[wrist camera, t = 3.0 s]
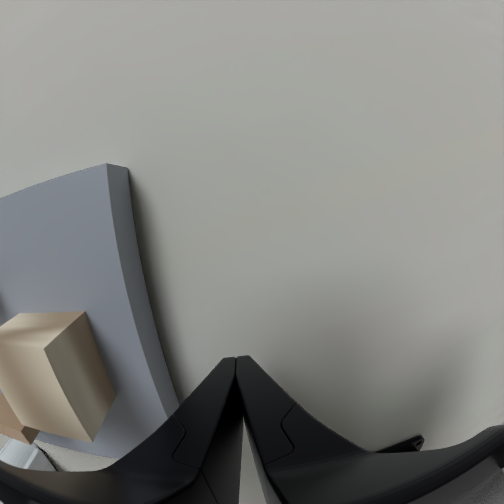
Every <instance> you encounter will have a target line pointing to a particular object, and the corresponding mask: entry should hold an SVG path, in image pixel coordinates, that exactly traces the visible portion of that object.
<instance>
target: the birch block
mask: <svg viewBox="0 0 504 504" xmlns="http://www.w3.org/2000/svg"><path fill="white" fill-rule="evenodd" d="M0 389H1V390H2V392H3V394H4V396H5V398H6V399H7V401H8V403H9V404H10V406H11V408H12V409H13V411H14V413H15V414H16V416H17V418H18V419H19V421H20V422H21V424H22V425H25V426H28V427H31V428H34V429H37V430H41V431H44V432H48V433H52V434H55V435H59V436H63V437H68V438H72V439H77V440H82V441H87V442H92V443H93V441H94V439H95V437H96V435H97V433H98V431H99V429H100V427H101V425H102V423H103V421H104V419H105V417H106V415H107V413H108V411H109V409H110V407H111V405H112V403H113V401H114V399H115V397H116V396H117V395H116V393H115V390H114V388H113V386H112V384H111V381H110V379H109V376H108V374H107V372H106V369H105V367H104V364H103V361H102V359H101V356H100V354H99V351H98V348H97V345H96V342H95V340H94V337H93V334H92V331H91V328H90V325H89V321H88V318H87V315H86V312H85V311H75V312H52V313H19V314H18V315H16V316H15V317H13V318H12V319H10V320H9V321H7V322H6V323H4V324H3V325H2V326H0Z"/></svg>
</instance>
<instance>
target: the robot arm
mask: <svg viewBox="0 0 504 504" xmlns="http://www.w3.org/2000/svg"><path fill="white" fill-rule="evenodd" d="M243 417H244V422H245V426H246V430H247V434H248V438H249V442H250V446H251V450H252V453H253V457H254V461H255V464H256V468H257V472H258V475H259V479H260V482H261V486H262V489H263V493H264V496H265V499H266V503H267V504H504V470H503V468H504V425H497V426H492V427H489V428H487V429H485V430H483V431H482V432H480V433H479V434H477V435H476V436H474V437H473V438H471V439H469V440H467V441H465V442H463V443H460V444H458V445H455V446H451V447H448V448H442V449H436V450H428V451H420V449H421V447H422V445H423V443H424V438H423V437H422V436H417V437H415V438H413V439H410V440H408V441H406V442H403V443H401V444H398V445H395V446H393V447H390V448H387V449H385V450H382V451H379V452H376V453H374V452H370V451H367V450H365V449H363V448H361V447H359V446H357V445H355V444H354V443H352V442H350V441H349V440H347V439H345V438H344V437H342V436H340V435H339V434H337V433H336V432H334V431H332V430H331V429H329V428H328V427H326V426H325V425H323V424H322V423H321V422H319V421H318V420H316V419H315V418H314V417H312V416H311V415H310V414H309V413H308V412H307V411H305V410H304V409H303V408H302V407H301V406H300V405H299V404H297V402H296V401H295V400H294V399H292V398H291V397H290V396H289V395H288V394H287V393H286V392H285V391H284V390H283V389H282V388H281V387H280V386H279V385H278V384H277V383H276V382H275V381H274V380H273V379H272V378H271V377H270V376H269V375H268V374H267V373H266V372H265V371H264V370H263V369H262V368H261V367H260V366H259V365H258V364H257V363H256V362H255V361H254V360H253V359H252V358H251V357H250V356H249V355H246V356H238V357H237V358H235V357H228V358H223V359H222V360H221V361H220V362H219V363H218V364H217V366H216V367H215V368H214V369H213V370H212V371H211V372H210V374H209V375H208V376H207V377H206V378H205V379H204V380H203V381H202V382H201V384H200V385H199V386H198V387H197V388H196V389H195V390H194V391H193V392H192V393H191V394H190V396H189V397H188V398H187V399H186V400H185V401H184V402H183V403H182V404H181V405H180V406H179V407H178V409H177V410H176V411H175V412H174V413H173V415H171V416H170V417H169V418H168V419H167V420H166V421H165V422H164V423H163V424H162V425H161V426H160V427H159V428H158V429H157V430H156V431H155V432H154V433H152V434H151V435H150V436H149V437H148V438H146V439H145V440H144V441H143V442H142V443H140V444H139V445H138V446H136V447H135V448H134V449H133V450H131V451H130V452H129V453H127V454H126V455H125V456H123V457H122V458H121V459H119V460H118V461H117V462H115V463H114V464H112V465H111V466H109V467H107V468H104V469H101V470H97V471H86V472H60V471H39V470H30V469H24V468H19V467H15V466H12V465H10V464H7V463H5V462H3V461H2V460H0V501H1V502H2V503H3V504H238V503H239V487H240V471H241V455H242V439H243Z"/></svg>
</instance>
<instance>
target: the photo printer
mask: <svg viewBox="0 0 504 504" xmlns="http://www.w3.org/2000/svg"><path fill="white" fill-rule="evenodd" d="M0 460H2V461H3V462H5V463H7V464H10V465H12V466H15V467H19V468H24V469H30V470H39V471H56V470H55V469H54V467H53V466H52V464H51V463H50V462H49V460H48V459H47V457H46V456H45V455H44V454H43V452H42V451H41V450H40V449H39V448H38V446H37V445H35V444H34V443H32V444H31V445H29V444H26V443H23V442H21V441H18V440H16V439H13V438H11V439H10V440H9V441H8V442H7V443H6V445H5V446H4V447H3V449H2V450H1V451H0ZM0 504H3V503H2V502H1V501H0Z"/></svg>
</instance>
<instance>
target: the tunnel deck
mask: <svg viewBox="0 0 504 504" xmlns="http://www.w3.org/2000/svg"><path fill="white" fill-rule="evenodd" d="M75 311H85V312H86V315H87V318H88V321H89V325H90V328H91V331H92V334H93V337H94V340H95V342H96V345H97V348H98V351H99V354H100V356H101V359H102V361H103V364H104V367H105V369H106V372H107V374H108V376H109V379H110V381H111V384H112V386H113V388H114V390H115V393H116V395H117V396H116V397H115V399H114V401H113V403H112V405H111V407H110V409H109V411H108V413H107V415H106V417H105V419H104V421H103V423H102V425H101V427H100V429H99V431H98V433H97V435H96V437H95V439H94V441H93V443H92V442H87V441H82V440H77V439H72V438H68V437H63V436H59V435H55V434H52V433H48V432H44V431H41V430H37V429H34V428H31V427H28V426H25V425H22V424H21V422H20V421H19V419H18V418H17V416H16V414H15V413H14V411H13V409H12V408H11V406H10V404H9V403H8V401H7V399H6V398H5V396H4V394H3V392H2V390H1V389H0V433H2V434H4V435H6V436H8V437H11V438H13V439H16V440H18V441H21V442H23V443H26V444H29V445H31V444H32V443H33V441H34V440H35V439H36V440H40V441H43V442H46V443H49V444H53V445H56V446H60V447H64V448H68V449H72V450H76V451H80V452H85V453H89V454H94V455H100V456H105V457H111V458H118V459H121V458H122V457H123V456H125V455H126V454H127V453H129V452H130V451H131V450H133V449H134V448H135V447H136V446H138V445H139V444H140V443H142V442H143V441H144V440H145V439H146V438H148V437H149V436H150V435H151V434H152V433H154V432H155V431H156V430H157V429H158V428H159V427H160V426H161V425H162V424H163V423H164V422H165V421H166V420H167V419H168V418H169V417H170V416H171V415H173V413H174V412H175V411H176V410H177V409H178V407H179V406H180V405H179V402H178V399H177V396H176V393H175V390H174V387H173V384H172V381H171V378H170V375H169V372H168V368H167V365H166V362H165V359H164V355H163V352H162V348H161V345H160V341H159V338H158V334H157V330H156V326H155V322H154V318H153V314H152V310H151V306H150V302H149V298H148V293H147V289H146V284H145V280H144V275H143V270H142V265H141V260H140V254H139V249H138V243H137V237H136V231H135V225H134V218H133V211H132V203H131V196H130V187H129V178H128V168H126V167H122V166H117V165H112V164H107V163H106V164H102V165H98V166H95V167H91V168H87V169H84V170H80V171H77V172H74V173H70V174H67V175H64V176H61V177H57V178H54V179H51V180H48V181H45V182H42V183H40V184H37V185H34V186H31V187H28V188H26V189H23V190H20V191H18V192H15V193H13V194H10V195H8V196H5V197H3V198H0V326H2V325H3V324H4V323H6V322H7V321H9V320H10V319H12V318H13V317H15V316H16V315H18V314H19V313H52V312H75Z"/></svg>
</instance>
